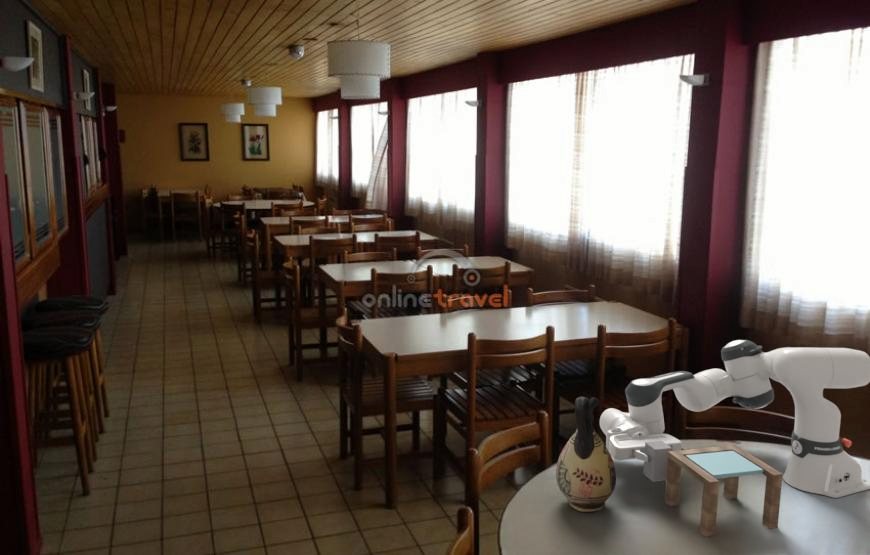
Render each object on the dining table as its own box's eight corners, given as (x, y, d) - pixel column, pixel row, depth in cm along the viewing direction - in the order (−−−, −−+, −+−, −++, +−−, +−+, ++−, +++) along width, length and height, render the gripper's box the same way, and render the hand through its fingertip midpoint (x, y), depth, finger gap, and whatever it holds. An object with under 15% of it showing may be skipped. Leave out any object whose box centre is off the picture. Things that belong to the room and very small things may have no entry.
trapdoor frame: (731, 493, 198) (735, 444, 196) (777, 527, 181) (782, 474, 178) (664, 501, 194) (668, 451, 191) (705, 536, 176) (709, 482, 174)
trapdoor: (732, 454, 192) (733, 450, 192) (762, 473, 181) (763, 469, 181) (685, 459, 189) (685, 455, 189) (712, 479, 178) (713, 475, 178)
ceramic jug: (565, 485, 202) (569, 381, 197) (621, 498, 195) (626, 390, 190) (544, 512, 188) (548, 400, 182) (604, 526, 180) (610, 411, 175)
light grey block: (659, 471, 201) (661, 440, 199) (669, 479, 196) (671, 447, 194) (643, 473, 199) (645, 442, 198) (652, 481, 195) (654, 449, 193)
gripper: (665, 446, 212) (693, 465, 199) (600, 452, 207) (624, 473, 194) (667, 425, 211) (694, 444, 198) (602, 431, 206) (625, 450, 193)
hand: (659, 458), depth 196 cm, fingers closed on light grey block, 5 cm apart
